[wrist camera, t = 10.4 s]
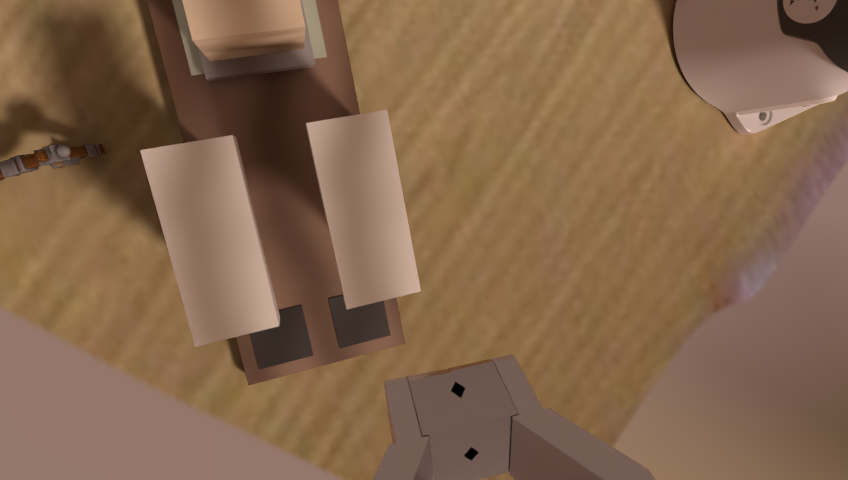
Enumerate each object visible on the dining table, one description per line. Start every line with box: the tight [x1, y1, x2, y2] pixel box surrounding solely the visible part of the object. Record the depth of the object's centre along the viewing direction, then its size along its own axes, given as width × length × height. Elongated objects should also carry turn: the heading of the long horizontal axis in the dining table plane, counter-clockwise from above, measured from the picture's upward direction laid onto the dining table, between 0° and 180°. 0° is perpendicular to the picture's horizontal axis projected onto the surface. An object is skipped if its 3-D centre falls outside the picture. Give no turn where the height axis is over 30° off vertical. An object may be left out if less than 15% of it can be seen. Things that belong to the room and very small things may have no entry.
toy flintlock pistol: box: [0, 144, 105, 181], centre depth 32 cm, size 2×8×4 cm, turn 106°
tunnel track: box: [140, 0, 421, 385], centre depth 31 cm, size 12×31×12 cm, turn 10°
